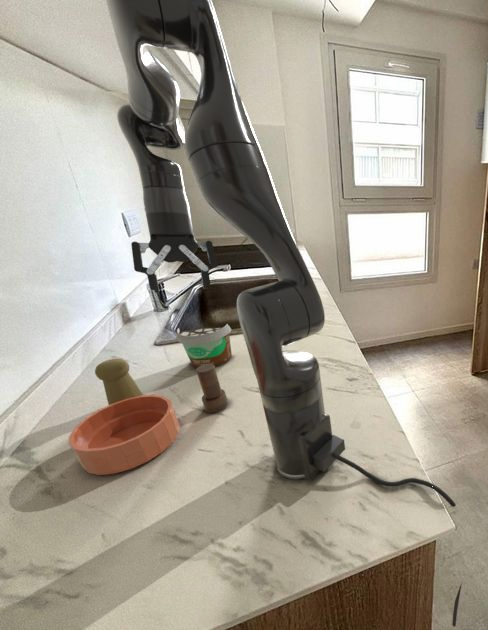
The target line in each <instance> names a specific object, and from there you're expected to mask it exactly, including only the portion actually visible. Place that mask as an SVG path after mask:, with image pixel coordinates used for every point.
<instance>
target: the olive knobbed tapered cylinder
mask: <svg viewBox="0 0 488 630" xmlns="http://www.w3.org/2000/svg"><path fill="white" fill-rule="evenodd" d="M129 372H130V364H129V362H128V361H127V360H126V359H124V358H119V357H118V358H117V357H116V358H110V359H107V360H104V361H102V362H100V363H99V364H98V365H96V367H95V370H94V374H95V376H96V377H97V379H99V380H101V381H102V384H103V387H104V392H105V396H106V400H107V404H108V405H111V404H113V403H116V402H119V401H121V400H124V399H127V398H132V397H137V396H141V395H144V394H143V392H142V390H141V389H140V388H139V386H138V385H137V384H136V382H135V380H134V379H133V377H132V376H131V374H130V373H129Z"/></svg>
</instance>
